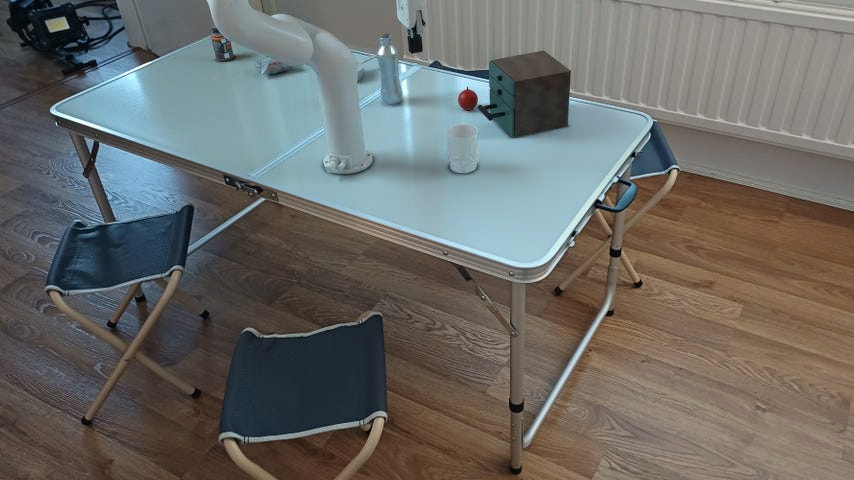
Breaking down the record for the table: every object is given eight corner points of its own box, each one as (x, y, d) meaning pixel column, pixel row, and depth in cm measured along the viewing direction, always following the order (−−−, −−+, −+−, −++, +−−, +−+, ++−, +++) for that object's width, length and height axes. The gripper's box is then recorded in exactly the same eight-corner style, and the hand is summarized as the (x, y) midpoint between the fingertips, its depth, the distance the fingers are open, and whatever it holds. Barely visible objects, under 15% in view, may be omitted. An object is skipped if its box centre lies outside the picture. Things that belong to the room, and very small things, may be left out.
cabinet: (509, 138, 196) (510, 82, 186) (486, 115, 207) (485, 61, 198) (567, 126, 200) (571, 70, 191) (541, 103, 212) (543, 50, 202)
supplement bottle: (233, 61, 247) (225, 28, 240) (215, 62, 246) (207, 29, 239) (235, 54, 251) (227, 21, 244) (217, 56, 251) (209, 23, 244)
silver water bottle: (404, 97, 219) (399, 31, 207) (401, 107, 214) (395, 40, 201) (383, 97, 219) (376, 31, 207) (379, 106, 214) (372, 40, 202)
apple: (475, 114, 208) (475, 91, 204) (456, 112, 209) (455, 90, 205) (480, 105, 213) (479, 83, 208) (460, 104, 214) (460, 82, 210)
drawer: (493, 140, 194) (493, 114, 190) (472, 117, 206) (471, 92, 201) (562, 125, 200) (564, 99, 195) (538, 104, 211) (539, 79, 207)
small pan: (324, 78, 232) (322, 67, 230) (367, 62, 242) (365, 50, 240) (345, 87, 226) (343, 76, 224) (388, 70, 236) (387, 58, 234)
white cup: (461, 156, 189) (460, 121, 183) (485, 165, 185) (484, 129, 179) (441, 168, 184) (439, 132, 178) (465, 178, 180) (464, 141, 174)
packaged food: (298, 71, 237) (295, 57, 234) (262, 80, 233) (259, 65, 230) (289, 63, 243) (286, 49, 240) (255, 71, 239) (251, 56, 236)
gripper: (385, -31, 174) (392, 44, 185) (404, -14, 163) (410, 65, 174) (415, -35, 176) (420, 39, 187) (435, -19, 165) (440, 59, 176)
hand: (415, 51), depth 180 cm, fingers closed
